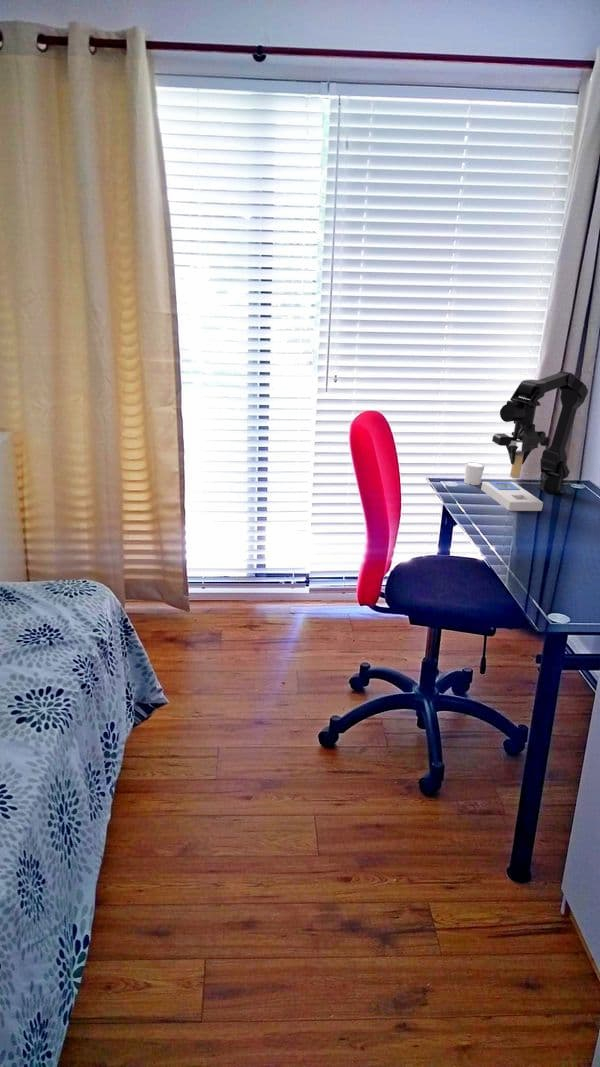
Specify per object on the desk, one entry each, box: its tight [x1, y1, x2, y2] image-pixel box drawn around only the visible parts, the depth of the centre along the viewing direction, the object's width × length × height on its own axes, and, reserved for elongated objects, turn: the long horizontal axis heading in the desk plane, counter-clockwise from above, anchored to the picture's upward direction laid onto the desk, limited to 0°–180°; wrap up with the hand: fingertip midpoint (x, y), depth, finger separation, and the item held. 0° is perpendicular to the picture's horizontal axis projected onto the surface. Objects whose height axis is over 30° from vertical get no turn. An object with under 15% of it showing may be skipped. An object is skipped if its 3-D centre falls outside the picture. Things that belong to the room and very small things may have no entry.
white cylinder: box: [463, 461, 485, 486], centre depth 285 cm, size 7×7×7 cm
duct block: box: [480, 481, 544, 512], centre depth 269 cm, size 12×22×3 cm, turn 12°
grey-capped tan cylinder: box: [509, 449, 524, 479], centre depth 266 cm, size 3×3×9 cm
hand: (516, 464), depth 266 cm, fingers closed on grey-capped tan cylinder, 3 cm apart
